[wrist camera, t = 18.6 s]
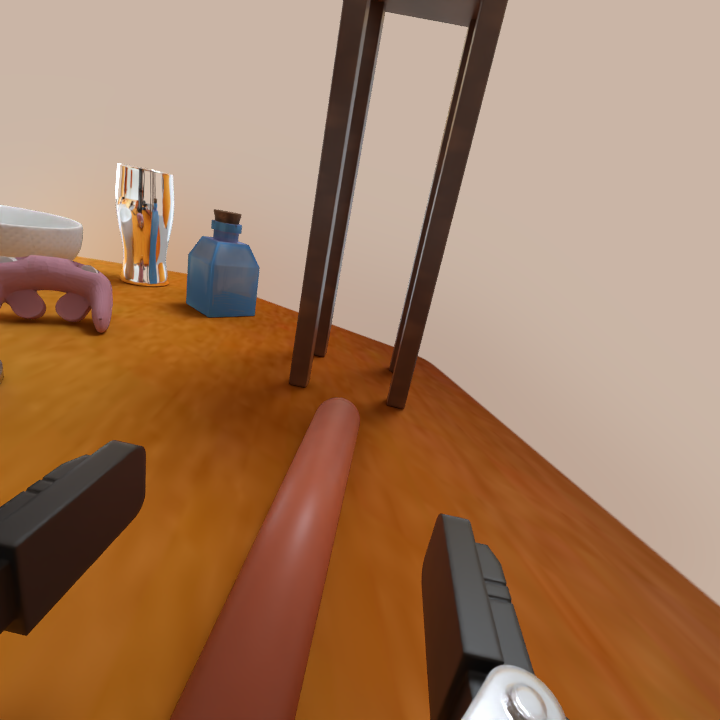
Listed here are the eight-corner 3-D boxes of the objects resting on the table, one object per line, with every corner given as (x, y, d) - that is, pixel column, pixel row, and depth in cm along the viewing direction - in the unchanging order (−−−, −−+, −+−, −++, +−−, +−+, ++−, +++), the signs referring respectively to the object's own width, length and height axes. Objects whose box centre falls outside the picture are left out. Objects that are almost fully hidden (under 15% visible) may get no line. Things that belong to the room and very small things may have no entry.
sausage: (247, 947, 8) (257, 870, 7) (104, 910, 8) (94, 830, 7) (358, 433, 28) (365, 395, 27) (317, 425, 28) (322, 387, 27)
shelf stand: (288, 384, 33) (362, -138, 22) (313, 350, 43) (373, -29, 32) (404, 409, 33) (535, -108, 22) (403, 369, 42) (494, -7, 32)
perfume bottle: (230, 302, 55) (238, 212, 51) (254, 315, 51) (264, 219, 47) (186, 303, 50) (190, 204, 46) (208, 317, 47) (215, 211, 43)
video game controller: (114, 338, 39) (116, 269, 40) (109, 331, 35) (111, 255, 36) (-17, 333, 35) (-13, 255, 35) (-40, 324, 31) (-35, 237, 31)
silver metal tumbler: (119, 274, 58) (117, 163, 53) (171, 279, 61) (174, 175, 56) (113, 284, 52) (111, 161, 47) (171, 289, 55) (175, 174, 51)
